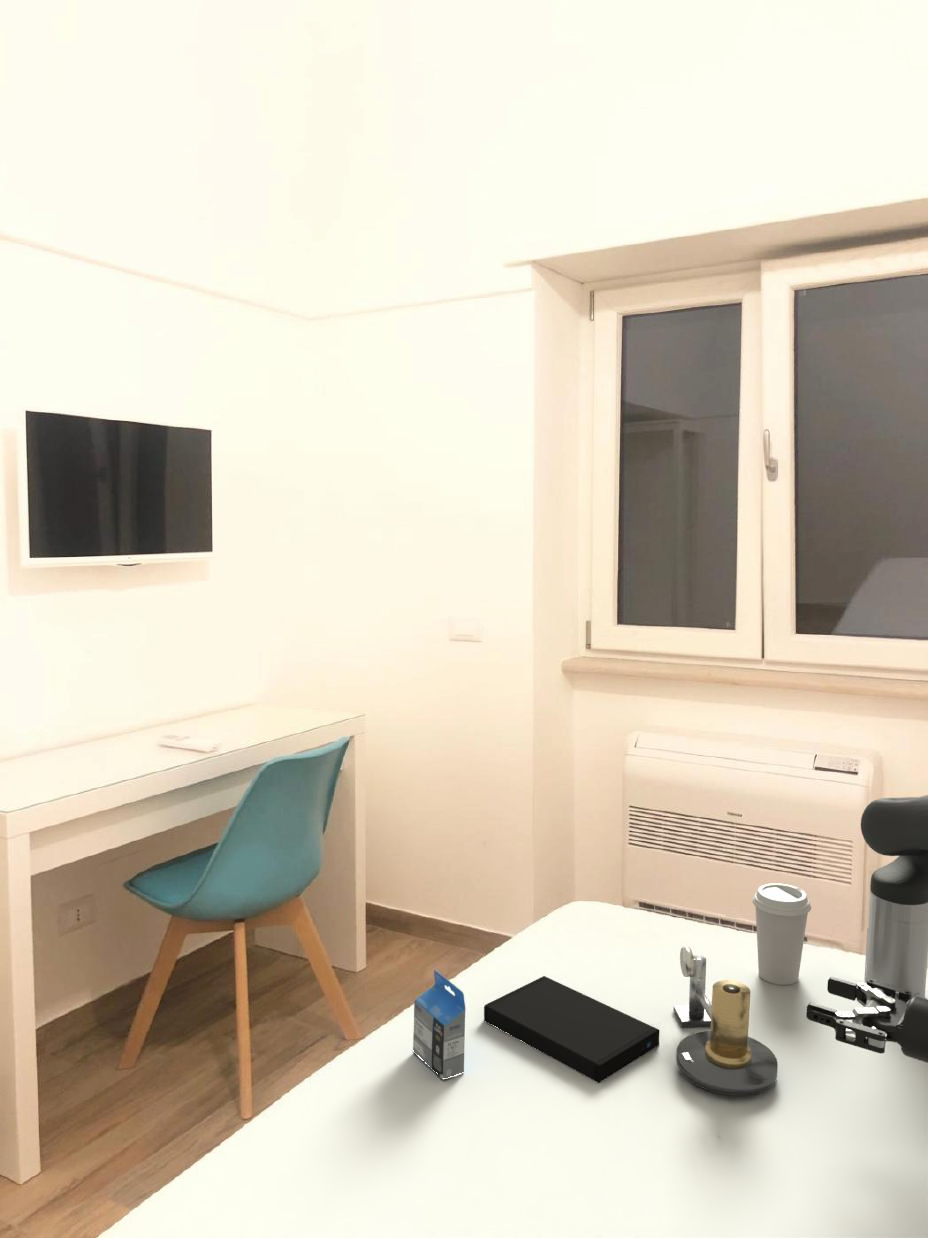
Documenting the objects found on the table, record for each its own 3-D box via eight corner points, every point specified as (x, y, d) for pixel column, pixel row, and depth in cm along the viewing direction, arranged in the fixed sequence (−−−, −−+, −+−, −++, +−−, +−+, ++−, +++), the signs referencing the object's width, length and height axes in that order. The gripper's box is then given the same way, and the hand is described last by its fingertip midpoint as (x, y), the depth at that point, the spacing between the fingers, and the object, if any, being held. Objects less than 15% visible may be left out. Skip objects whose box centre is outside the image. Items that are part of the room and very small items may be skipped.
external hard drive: (544, 992, 172) (545, 975, 172) (659, 1048, 156) (659, 1029, 155) (483, 1023, 162) (484, 1005, 162) (599, 1086, 146) (599, 1066, 145)
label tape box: (411, 1053, 153) (411, 975, 152) (435, 1045, 156) (435, 968, 154) (442, 1082, 146) (442, 1000, 144) (466, 1074, 148) (466, 993, 146)
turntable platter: (665, 1041, 155) (665, 1030, 154) (757, 1038, 155) (757, 1027, 155) (691, 1097, 141) (692, 1085, 141) (792, 1093, 142) (792, 1081, 141)
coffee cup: (815, 990, 172) (819, 904, 170) (757, 989, 172) (761, 903, 170) (797, 963, 182) (801, 881, 180) (743, 962, 182) (746, 881, 180)
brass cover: (698, 1045, 151) (702, 978, 149) (741, 1043, 151) (745, 976, 150) (713, 1070, 144) (717, 1000, 143) (758, 1068, 145) (762, 998, 144)
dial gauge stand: (673, 1011, 165) (675, 941, 164) (710, 1010, 166) (712, 940, 164) (694, 1053, 153) (697, 978, 152) (734, 1051, 154) (737, 977, 152)
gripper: (961, 986, 136) (836, 951, 145) (935, 1034, 124) (801, 992, 134) (956, 1039, 137) (832, 1000, 146) (931, 1091, 126) (798, 1046, 135)
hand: (818, 997), depth 140 cm, fingers open, 8 cm apart
